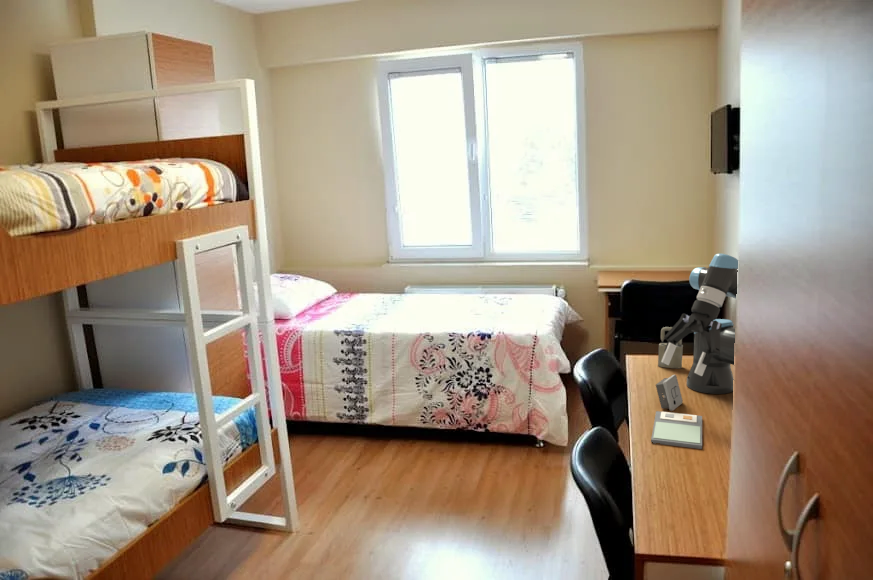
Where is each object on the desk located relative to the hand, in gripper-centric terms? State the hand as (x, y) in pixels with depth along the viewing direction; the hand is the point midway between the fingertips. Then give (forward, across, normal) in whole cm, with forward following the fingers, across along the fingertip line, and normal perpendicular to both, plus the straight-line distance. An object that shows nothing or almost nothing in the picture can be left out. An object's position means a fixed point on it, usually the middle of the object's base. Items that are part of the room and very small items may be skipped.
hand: (680, 368), depth 200 cm
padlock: (-3, -38, +34) cm, 51 cm away
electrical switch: (+11, -8, +9) cm, 17 cm away
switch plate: (+17, +8, -1) cm, 19 cm away
